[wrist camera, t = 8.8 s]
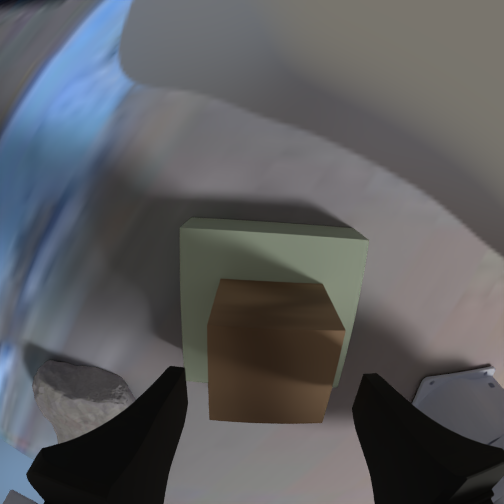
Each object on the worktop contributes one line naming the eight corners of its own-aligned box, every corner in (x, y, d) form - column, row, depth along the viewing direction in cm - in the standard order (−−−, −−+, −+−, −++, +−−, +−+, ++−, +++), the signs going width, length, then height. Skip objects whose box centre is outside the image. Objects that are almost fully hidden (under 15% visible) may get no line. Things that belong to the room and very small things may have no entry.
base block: (353, 228, 19) (369, 240, 16) (329, 361, 22) (337, 387, 19) (191, 217, 19) (179, 227, 16) (192, 354, 22) (185, 380, 19)
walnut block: (322, 283, 17) (345, 330, 12) (309, 365, 18) (321, 422, 13) (220, 278, 17) (207, 325, 12) (219, 361, 18) (209, 419, 13)
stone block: (137, 359, 24) (37, 352, 22) (130, 398, 20) (19, 385, 18) (155, 440, 28) (72, 433, 26) (154, 475, 24) (64, 465, 22)
